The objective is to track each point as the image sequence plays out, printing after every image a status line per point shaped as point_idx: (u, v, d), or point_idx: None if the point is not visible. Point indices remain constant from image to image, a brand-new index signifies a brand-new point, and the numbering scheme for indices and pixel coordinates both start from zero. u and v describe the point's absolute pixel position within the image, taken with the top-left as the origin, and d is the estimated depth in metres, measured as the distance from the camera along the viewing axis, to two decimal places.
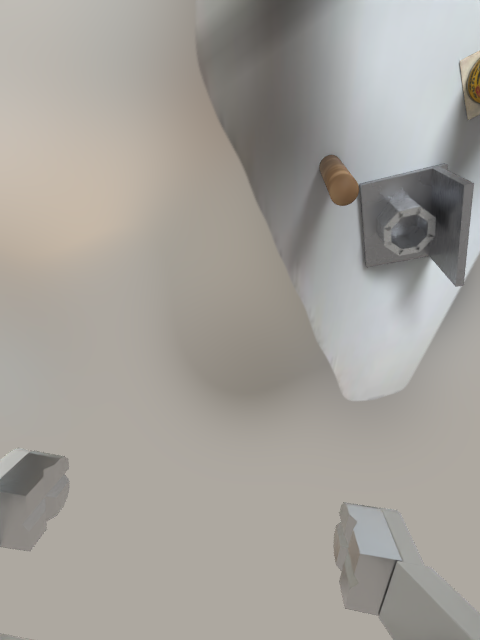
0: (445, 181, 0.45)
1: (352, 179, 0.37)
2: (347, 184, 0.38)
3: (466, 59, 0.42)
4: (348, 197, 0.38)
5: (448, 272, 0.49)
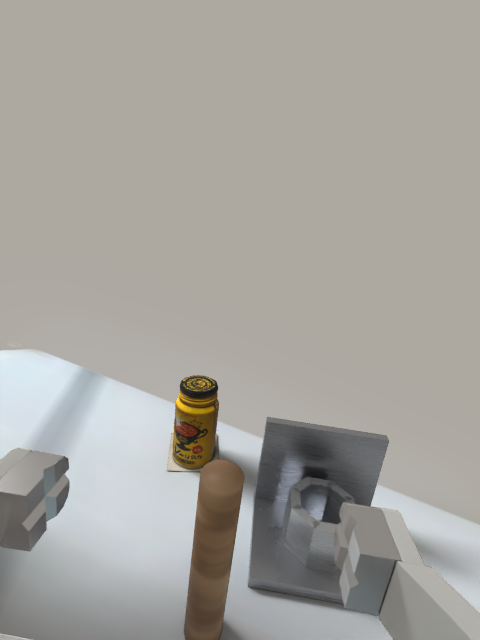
0: (266, 464, 0.40)
1: (210, 463, 0.25)
2: (214, 469, 0.25)
3: (168, 466, 0.46)
4: (233, 473, 0.24)
5: (375, 459, 0.39)
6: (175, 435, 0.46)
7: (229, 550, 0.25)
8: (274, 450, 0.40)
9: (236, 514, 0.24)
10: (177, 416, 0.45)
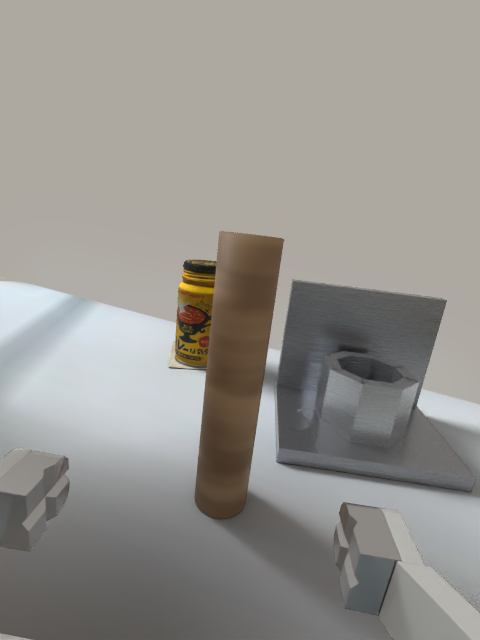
0: (291, 340, 0.32)
1: (232, 232, 0.18)
2: (238, 233, 0.17)
3: (170, 364, 0.39)
4: None
5: (428, 328, 0.31)
6: (178, 327, 0.39)
7: (262, 353, 0.17)
8: (302, 321, 0.32)
9: (272, 291, 0.16)
10: (180, 301, 0.38)
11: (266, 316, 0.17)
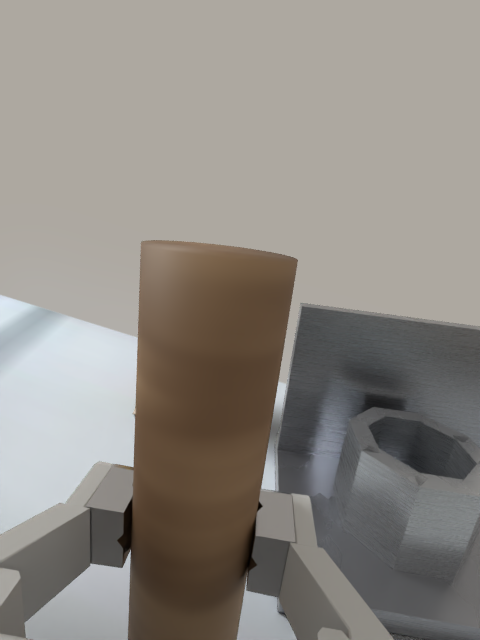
0: (299, 388, 0.23)
1: (182, 242, 0.08)
2: (193, 245, 0.07)
3: None
4: (258, 253, 0.07)
5: None
6: None
7: (246, 517, 0.08)
8: (314, 362, 0.22)
9: (271, 385, 0.07)
10: None
11: (255, 442, 0.07)
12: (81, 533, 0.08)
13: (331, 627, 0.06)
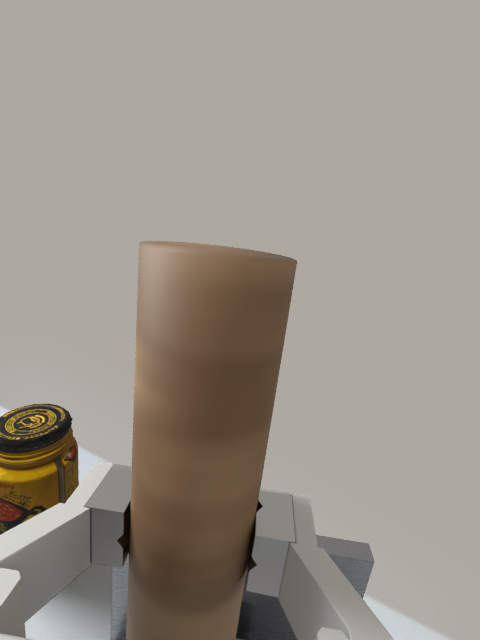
0: (124, 596, 0.20)
1: (180, 242, 0.08)
2: (192, 246, 0.07)
3: None
4: (257, 254, 0.07)
5: None
6: None
7: (245, 519, 0.08)
8: None
9: (269, 386, 0.07)
10: None
11: (254, 444, 0.07)
12: (81, 533, 0.08)
13: (331, 627, 0.06)
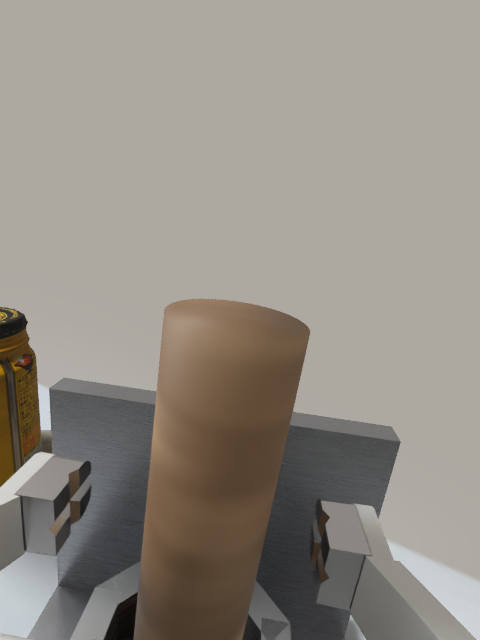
0: None
1: (199, 300, 0.08)
2: (211, 308, 0.08)
3: None
4: (272, 318, 0.08)
5: (361, 496, 0.14)
6: None
7: (251, 565, 0.08)
8: None
9: (280, 446, 0.07)
10: None
11: (264, 499, 0.07)
12: (11, 521, 0.08)
13: None
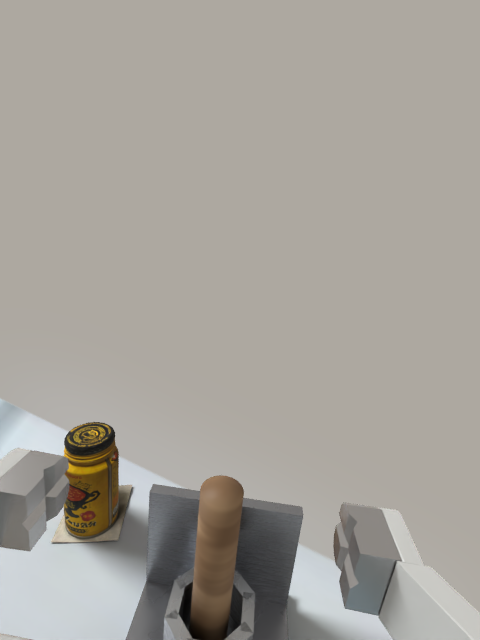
0: (155, 542, 0.32)
1: (209, 479, 0.26)
2: (213, 485, 0.25)
3: (55, 536, 0.38)
4: (233, 488, 0.25)
5: (288, 538, 0.30)
6: None
7: (231, 566, 0.25)
8: (163, 526, 0.31)
9: (236, 529, 0.24)
10: None
11: (233, 545, 0.25)
12: None
13: None
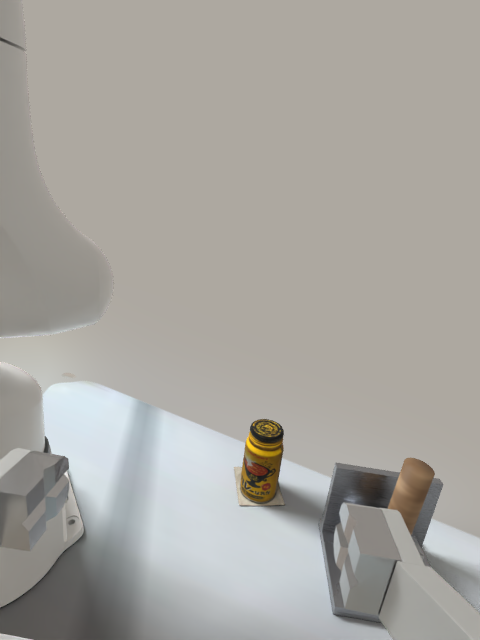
0: (334, 503, 0.46)
1: (406, 459, 0.40)
2: (411, 463, 0.39)
3: (240, 501, 0.52)
4: (424, 466, 0.39)
5: (430, 500, 0.45)
6: (245, 473, 0.53)
7: (418, 515, 0.39)
8: (342, 491, 0.46)
9: (427, 491, 0.38)
10: (248, 457, 0.51)
11: (423, 501, 0.39)
12: None
13: None
